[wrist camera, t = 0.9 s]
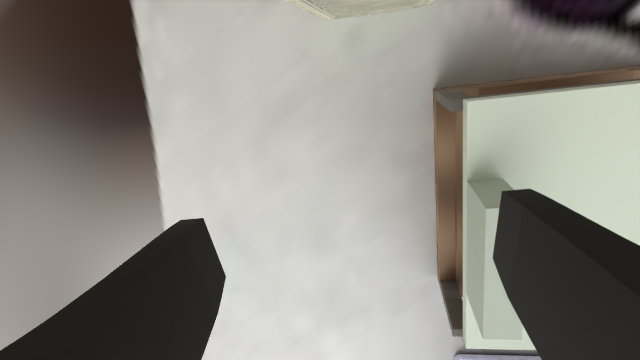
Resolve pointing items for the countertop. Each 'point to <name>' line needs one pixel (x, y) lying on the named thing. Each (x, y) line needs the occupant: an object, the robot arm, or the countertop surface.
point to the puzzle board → (451, 166)
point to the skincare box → (355, 7)
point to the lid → (542, 181)
